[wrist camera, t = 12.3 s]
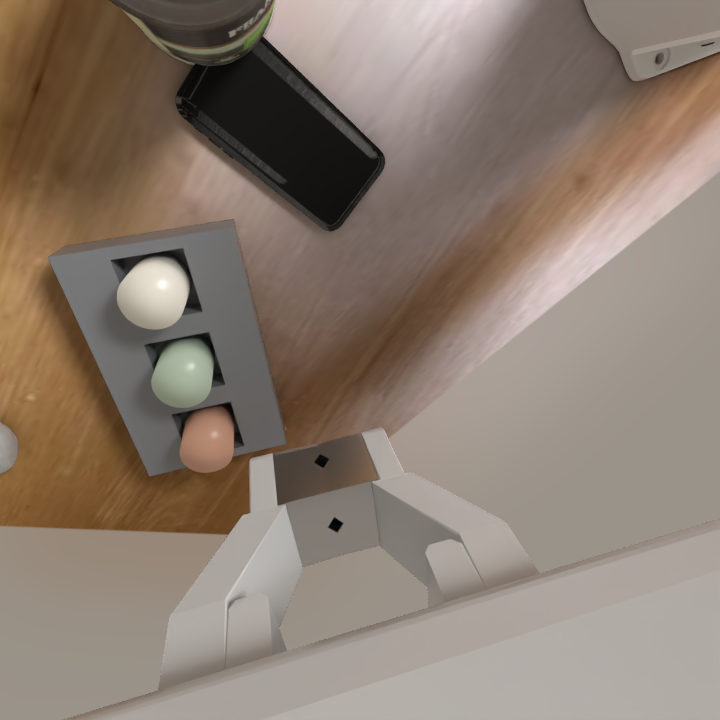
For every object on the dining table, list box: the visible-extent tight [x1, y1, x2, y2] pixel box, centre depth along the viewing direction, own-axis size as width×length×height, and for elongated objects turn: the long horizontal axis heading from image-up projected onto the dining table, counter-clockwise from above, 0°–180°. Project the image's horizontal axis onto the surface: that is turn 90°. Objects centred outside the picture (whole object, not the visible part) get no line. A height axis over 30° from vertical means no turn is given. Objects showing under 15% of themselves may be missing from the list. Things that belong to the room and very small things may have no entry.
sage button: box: [151, 335, 215, 408], centre depth 37 cm, size 4×4×5 cm
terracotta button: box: [180, 403, 235, 473], centre depth 40 cm, size 4×4×5 cm
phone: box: [176, 36, 385, 231], centre depth 34 cm, size 8×1×15 cm
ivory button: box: [117, 253, 192, 330], centre depth 33 cm, size 4×4×5 cm
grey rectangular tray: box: [48, 219, 287, 477], centre depth 39 cm, size 13×21×4 cm, turn 7°
